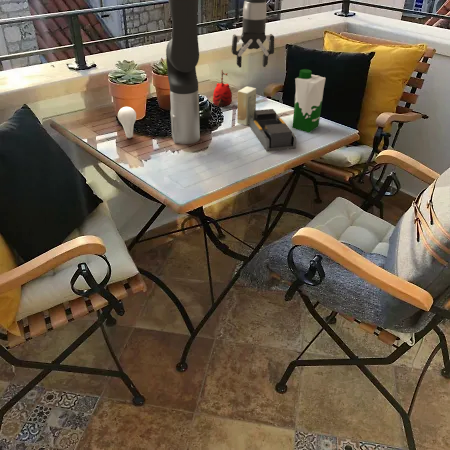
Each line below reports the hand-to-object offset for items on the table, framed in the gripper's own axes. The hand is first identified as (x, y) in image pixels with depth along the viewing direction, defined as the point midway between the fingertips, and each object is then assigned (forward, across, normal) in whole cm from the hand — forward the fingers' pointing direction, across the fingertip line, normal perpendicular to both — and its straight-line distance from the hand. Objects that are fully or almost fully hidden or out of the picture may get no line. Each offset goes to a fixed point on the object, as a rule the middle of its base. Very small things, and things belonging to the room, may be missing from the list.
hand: (252, 66), depth 163 cm
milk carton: (+20, +19, -8) cm, 29 cm away
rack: (+20, +5, -14) cm, 25 cm away
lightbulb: (+21, -44, -8) cm, 49 cm away
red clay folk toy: (+21, -7, +18) cm, 29 cm away
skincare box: (+21, -1, +1) cm, 21 cm away
